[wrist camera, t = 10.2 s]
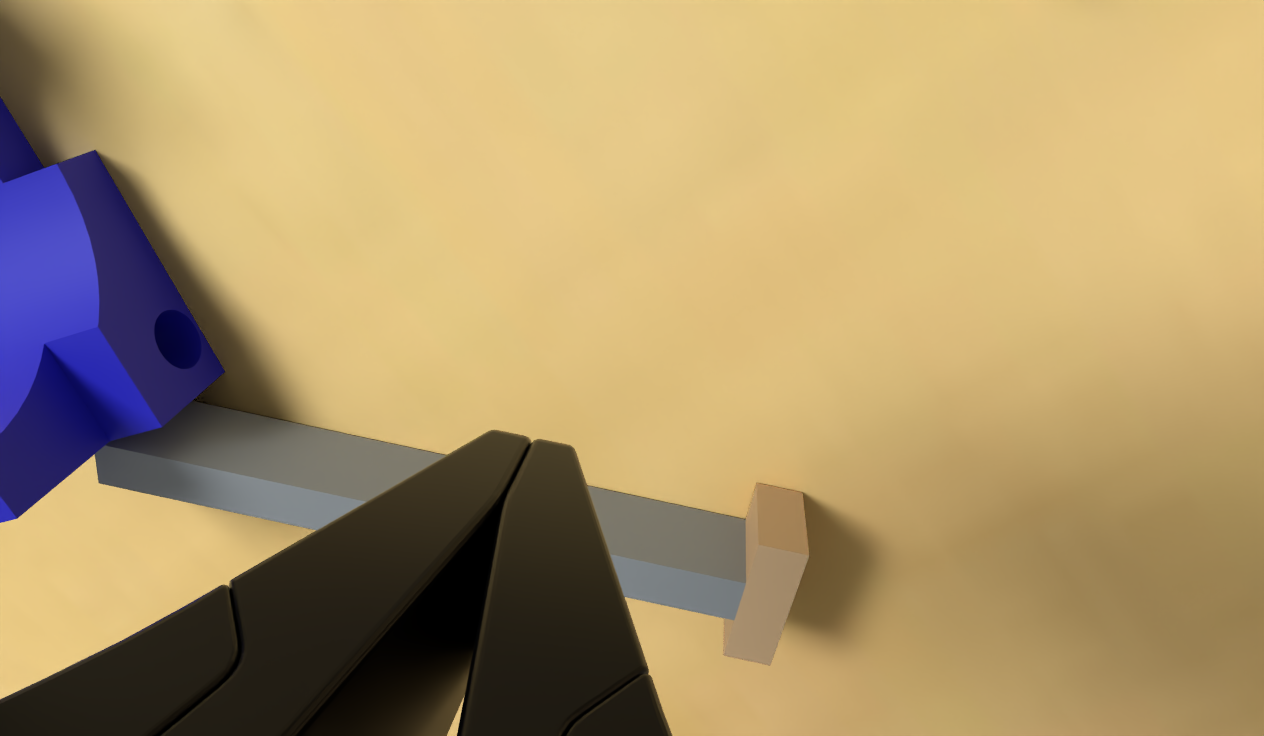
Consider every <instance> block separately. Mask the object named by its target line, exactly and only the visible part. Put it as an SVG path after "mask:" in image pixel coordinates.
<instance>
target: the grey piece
mask: <svg viewBox="0 0 1264 736" xmlns="http://www.w3.org/2000/svg"><path fill="white" fill-rule="evenodd" d="M445 456H446V455H442V454H437V453H433V452H428V451H423V450H419V449H414V448H409V447H405V446H400V445H395V444H391V443H386V442H381V441H377V440H372V439H367V438H363V437H358V436H353V435H349V434H344V433H339V432H335V431H330V430H325V429H321V428H316V427H311V426H307V425H302V424H297V423H293V422H288V421H283V420H279V419H274V418H269V417H265V416H260V415H255V414H251V413H246V412H241V411H237V410H232V409H227V408H223V407H218V406H213V405H209V404H204V403H199V402H195V401H191V402H190V403H189V404H188V405H187V406H186V407H184V408H183V409H182V410H181V411H180V412H179V413H178V414H177V415H175V416H174V417H173V418H172V419H171V420H170V421H169V422H167V423H166V424H165V425H164V426H163V427H161V428H158V429H154V430H150V431H146V432H143V433H139V434H135V435H131V436H128V437H124V438H120V439H116V440H113V441H110V442H108V443H107V444H106V445H105V446H104V447H102V448H101V449H100V450H99V451H98V452H96V453H95V459H96V466H97V474H98V481H99V483H100V484H105V485H109V486H114V487H119V488H123V489H128V490H133V491H137V492H142V493H146V494H151V495H156V496H160V497H165V498H170V499H174V500H179V501H184V502H188V503H193V504H197V505H202V506H207V507H211V508H216V509H221V510H225V511H230V512H234V513H239V514H244V515H248V516H253V517H258V518H262V519H267V520H272V521H276V522H281V523H285V524H290V525H295V526H299V527H304V528H309V529H313V530H318V529H320V528H322V527H324V526H325V525H327V524H329V523H330V522H332V521H334V520H336V519H337V518H339V517H341V516H343V515H344V514H346V513H348V512H349V511H351V510H353V509H355V508H356V507H358V506H360V505H362V504H363V503H365V502H367V501H369V500H370V499H372V498H374V497H375V496H377V495H379V494H381V493H382V492H384V491H386V490H388V489H389V488H391V487H393V486H394V485H396V484H398V483H400V482H401V481H403V480H405V479H407V478H408V477H410V476H412V475H414V474H415V473H417V472H419V471H420V470H422V469H424V468H426V467H427V466H429V465H431V464H433V463H434V462H436V461H438V460H440V459H441V458H443V457H445ZM587 487H588V490H589V493H590V496H591V499H592V502H593V505H594V508H595V511H596V514H597V517H598V520H599V523H600V526H601V529H602V532H603V535H604V537H605V540H606V543H607V546H608V549H609V552H610V555H611V558H612V561H613V564H614V567H615V570H616V573H617V576H618V579H619V582H620V585H621V588H622V591H623V594H624V597H628V598H633V599H637V600H642V601H647V602H651V603H656V604H661V605H665V606H670V607H674V608H679V609H684V610H688V611H693V612H698V613H702V614H707V615H711V616H716V617H721V618H724V646H723V655H724V656H728V657H733V658H738V659H742V660H747V661H751V662H756V663H761V664H765V665H771V662H772V659H773V656H774V654H775V651H776V648H777V645H778V642H779V640H780V637H781V634H782V631H783V628H784V625H785V623H786V620H787V617H788V614H789V611H790V609H791V606H792V603H793V600H794V597H795V595H796V592H797V589H798V586H799V583H800V581H801V578H802V575H803V572H804V569H805V567H806V564H807V561H808V558H809V547H808V538H807V529H806V520H805V511H804V502H803V493H802V492H797V491H792V490H788V489H783V488H778V487H774V486H769V485H764V484H760V483H756V487H755V490H754V493H753V497H752V500H751V503H750V506H749V510H748V513H747V516H746V520H745V519H741V518H736V517H731V516H727V515H722V514H717V513H713V512H708V511H703V510H699V509H694V508H689V507H685V506H680V505H675V504H671V503H666V502H661V501H657V500H652V499H647V498H643V497H638V496H633V495H629V494H624V493H619V492H615V491H610V490H605V489H601V488H596V487H591V486H587Z"/></svg>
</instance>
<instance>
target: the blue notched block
mask: <svg viewBox="0 0 1264 736" xmlns="http://www.w3.org/2000/svg"><path fill="white" fill-rule="evenodd" d="M224 372H225V371H224V369H223V367H222V366H221V364H220V362H219V360H218V359H217V357H216V355H215V354H214V352H213V350H212V349H211V347H210V345H209V343H208V342H207V340H206V338H205V337H204V335H203V333H202V331H201V330H200V328H199V326H198V325H197V323H196V321H195V320H194V318H193V316H192V314H191V313H190V311H189V309H188V308H187V306H186V304H185V302H184V301H183V299H182V297H181V296H180V294H179V292H178V291H177V289H176V287H175V285H174V284H173V282H172V280H171V279H170V277H169V275H168V273H167V272H166V270H165V268H164V267H163V265H162V263H161V261H160V260H159V258H158V256H157V255H156V253H155V251H154V250H153V248H152V246H151V244H150V243H149V241H148V239H147V238H146V236H145V234H144V232H143V231H142V229H141V227H140V226H139V224H138V222H137V221H136V219H135V217H134V215H133V214H132V212H131V210H130V209H129V207H128V205H127V203H126V202H125V200H124V198H123V197H122V195H121V193H120V192H119V190H118V188H117V186H116V185H115V183H114V181H113V180H112V178H111V176H110V174H109V173H108V171H107V169H106V168H105V166H104V164H103V162H102V161H101V159H100V157H99V156H98V154H97V152H96V151H95V150H94V151H91V152H88V153H85V154H82V155H80V156H77V157H74V158H71V159H69V160H66V161H63V162H60V163H57V164H55V165H52V166H49V167H46V168H44V167H43V165H42V164H41V162H40V160H39V159H38V157H37V156H36V154H35V152H34V151H33V149H32V147H31V146H30V144H29V143H28V141H27V139H26V138H25V136H24V134H23V133H22V131H21V130H20V128H19V126H18V125H17V123H16V121H15V120H14V118H13V117H12V115H11V113H10V112H9V110H8V109H7V107H6V105H5V104H4V102H3V100H2V99H1V97H0V523H1V522H5V521H9V520H13V519H17V518H18V517H20V516H21V515H22V514H23V513H24V512H26V511H27V510H28V509H29V508H30V507H32V506H33V505H34V504H35V503H36V502H38V501H39V500H40V499H41V498H42V497H44V496H45V495H46V494H47V493H48V492H50V491H51V490H52V489H53V488H54V487H56V486H57V485H58V484H59V483H60V482H62V481H63V480H64V479H65V478H66V477H68V476H69V475H70V474H71V473H72V472H74V471H75V470H76V469H77V468H78V467H80V466H81V465H82V464H83V463H84V462H86V461H87V460H88V459H89V458H90V457H92V456H93V455H94V454H95V453H96V452H98V451H99V450H100V449H101V448H102V447H104V446H105V445H106V444H107V443H108V442H110V441H113V440H116V439H120V438H124V437H128V436H131V435H135V434H139V433H143V432H146V431H150V430H154V429H158V428H161V427H163V426H164V425H165V424H166V423H167V422H169V421H170V420H171V419H172V418H173V417H174V416H175V415H177V414H178V413H179V412H180V411H181V410H182V409H183V408H184V407H186V406H187V405H188V404H189V403H190V402H191V401H192V400H194V399H195V398H196V397H197V396H198V395H199V394H200V393H201V392H203V391H204V390H205V389H206V388H207V387H208V386H209V385H210V384H212V383H213V382H214V381H215V380H216V379H217V378H218V377H220V376H221V375H222V374H223V373H224Z"/></svg>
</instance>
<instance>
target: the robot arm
mask: <svg viewBox="0 0 1264 736" xmlns="http://www.w3.org/2000/svg"><path fill="white" fill-rule="evenodd" d="M648 673H649V669H648V666H647V663H646V660H645V657H644V654H643V651H642V648H641V645H640V642H639V639H638V636H637V633H636V630H635V627H634V624H633V621H632V618H631V615H630V612H629V609H628V606H627V603H626V600H625V597H624V594H623V591H622V588H621V585H620V582H619V579H618V576H617V573H616V570H615V567H614V564H613V561H612V558H611V555H610V552H609V549H608V546H607V543H606V540H605V537H604V535H603V532H602V529H601V526H600V523H599V520H598V517H597V514H596V511H595V508H594V505H593V502H592V499H591V496H590V493H589V490H588V487H587V484H586V481H585V478H584V475H583V472H582V469H581V466H580V463H579V460H578V457H577V454H576V451H575V449H574V448H573V447H572V446H570V445H567V444H562V443H557V442H552V441H547V440H542V439H537V440H534V441H533V442H532V443H531V440H530V439H529V438H528V437H526V436H523V435H518V434H513V433H508V432H504V431H499V430H491V431H488V432H486V433H485V434H483V435H481V436H479V437H478V438H476V439H474V440H472V441H471V442H469V443H467V444H465V445H464V446H462V447H460V448H459V449H457V450H455V451H453V452H452V453H450V454H448V455H446V456H445V457H443V458H441V459H440V460H438V461H436V462H434V463H433V464H431V465H429V466H427V467H426V468H424V469H422V470H420V471H419V472H417V473H415V474H414V475H412V476H410V477H408V478H407V479H405V480H403V481H401V482H400V483H398V484H396V485H394V486H393V487H391V488H389V489H388V490H386V491H384V492H382V493H381V494H379V495H377V496H375V497H374V498H372V499H370V500H369V501H367V502H365V503H363V504H362V505H360V506H358V507H356V508H355V509H353V510H351V511H349V512H348V513H346V514H344V515H343V516H341V517H339V518H337V519H336V520H334V521H332V522H330V523H329V524H327V525H325V526H324V527H322V528H320V529H318V530H317V531H315V532H313V533H311V534H310V535H308V536H306V537H304V538H303V539H301V540H299V541H298V542H296V543H294V544H292V545H291V546H289V547H287V548H285V549H284V550H282V551H280V552H278V553H277V554H275V555H273V556H272V557H270V558H268V559H266V560H265V561H263V562H261V563H259V564H258V565H256V566H254V567H253V568H251V569H249V570H247V571H246V572H244V573H242V574H240V575H239V576H237V577H235V578H233V579H232V580H231V581H230V583H229V587H228V586H227V585H221V586H219V587H217V588H215V589H214V590H212V591H210V592H209V593H207V594H205V595H203V596H202V597H200V598H198V599H196V600H195V601H193V602H191V603H189V604H188V605H186V606H184V607H182V608H181V609H179V610H177V611H175V612H173V613H171V614H170V615H168V616H166V617H164V618H162V619H160V620H159V621H157V622H155V623H153V624H151V625H149V626H148V627H146V628H144V629H142V630H140V631H139V632H137V633H135V634H133V635H131V636H129V637H128V638H126V639H124V640H122V641H120V642H118V643H116V644H114V645H112V646H110V647H108V648H106V649H104V650H102V651H100V652H98V653H96V654H94V655H92V656H90V657H88V658H85V659H83V660H81V661H79V662H77V663H75V664H73V665H71V666H69V667H67V668H65V669H63V670H61V671H59V672H57V673H55V674H53V675H51V676H49V677H47V678H45V679H43V680H41V681H38V682H36V683H34V684H32V685H30V686H28V687H26V688H24V689H21V690H19V691H17V692H15V693H13V694H11V695H9V696H7V697H4V698H2V699H0V736H447V734H448V731H449V729H450V727H451V724H452V722H453V720H454V718H455V715H456V713H457V711H458V708H459V706H460V704H461V702H462V699H463V697H464V695H465V697H464V702H463V707H462V712H461V718H460V723H459V728H458V733H457V736H672V733H671V731H670V728H669V725H668V723H667V720H666V718H665V715H664V712H663V710H662V707H661V704H660V701H659V698H658V695H657V692H656V689H655V686H654V683H653V680H652V677H651V676H650V675H648Z"/></svg>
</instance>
